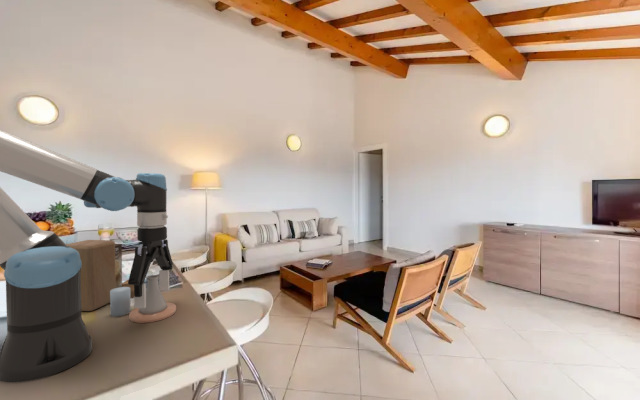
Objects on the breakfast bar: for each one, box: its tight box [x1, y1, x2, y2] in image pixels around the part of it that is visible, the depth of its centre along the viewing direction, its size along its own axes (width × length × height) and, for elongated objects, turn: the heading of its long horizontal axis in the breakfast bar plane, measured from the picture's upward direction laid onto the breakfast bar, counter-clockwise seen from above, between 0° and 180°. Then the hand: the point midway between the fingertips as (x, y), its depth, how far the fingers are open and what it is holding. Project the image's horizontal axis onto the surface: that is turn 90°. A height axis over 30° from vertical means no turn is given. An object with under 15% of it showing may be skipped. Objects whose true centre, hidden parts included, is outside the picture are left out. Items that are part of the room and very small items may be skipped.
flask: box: [138, 274, 168, 314], centre depth 88 cm, size 7×7×10 cm
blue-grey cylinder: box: [109, 286, 132, 317], centre depth 89 cm, size 5×5×7 cm
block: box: [65, 239, 116, 312], centre depth 94 cm, size 10×10×20 cm
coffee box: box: [115, 243, 123, 288], centre depth 109 cm, size 9×6×16 cm
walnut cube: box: [121, 278, 134, 299], centre depth 104 cm, size 5×5×5 cm
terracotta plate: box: [128, 301, 177, 324], centre depth 88 cm, size 12×12×1 cm
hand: (153, 298), depth 88 cm, fingers open, 13 cm apart
